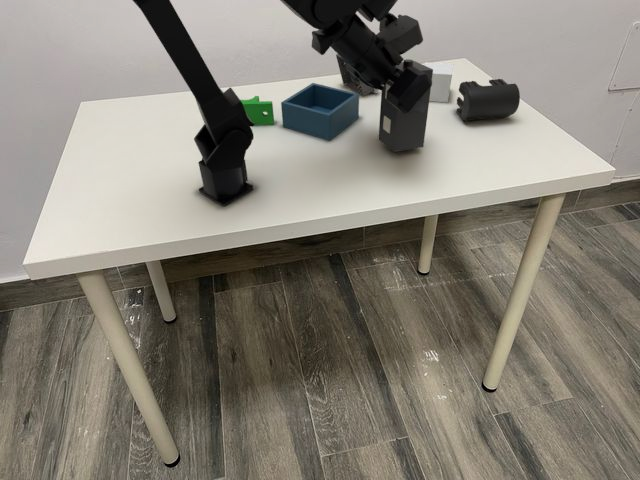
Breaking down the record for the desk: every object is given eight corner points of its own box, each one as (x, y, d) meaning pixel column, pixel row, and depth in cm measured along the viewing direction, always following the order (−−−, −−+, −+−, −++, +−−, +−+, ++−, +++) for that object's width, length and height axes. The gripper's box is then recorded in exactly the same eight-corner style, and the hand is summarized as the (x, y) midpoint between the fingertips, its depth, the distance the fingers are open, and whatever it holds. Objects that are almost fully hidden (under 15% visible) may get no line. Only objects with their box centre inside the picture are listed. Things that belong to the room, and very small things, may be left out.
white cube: (447, 102, 101) (452, 74, 97) (419, 100, 102) (422, 72, 98) (449, 91, 105) (453, 64, 101) (421, 89, 107) (425, 62, 103)
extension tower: (392, 152, 83) (400, 66, 75) (377, 139, 88) (382, 58, 79) (423, 147, 85) (434, 63, 77) (406, 135, 89) (415, 54, 81)
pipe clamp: (275, 116, 98) (273, 95, 95) (273, 125, 95) (271, 103, 92) (221, 117, 98) (218, 95, 95) (218, 125, 95) (214, 103, 92)
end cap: (465, 127, 92) (472, 94, 88) (453, 111, 98) (458, 79, 93) (514, 123, 93) (523, 89, 89) (499, 107, 98) (507, 75, 94)
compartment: (329, 140, 90) (329, 115, 86) (282, 126, 94) (280, 102, 91) (358, 117, 96) (359, 93, 93) (313, 105, 101) (312, 82, 98)
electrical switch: (379, 93, 105) (378, 52, 99) (360, 101, 103) (358, 59, 97) (354, 80, 111) (352, 40, 105) (336, 87, 110) (333, 47, 103)
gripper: (429, 16, 63) (480, 83, 74) (364, -14, 76) (415, 47, 87) (374, 84, 66) (430, 139, 76) (320, 44, 79) (374, 96, 90)
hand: (412, 102), depth 82 cm, fingers closed on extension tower, 7 cm apart
